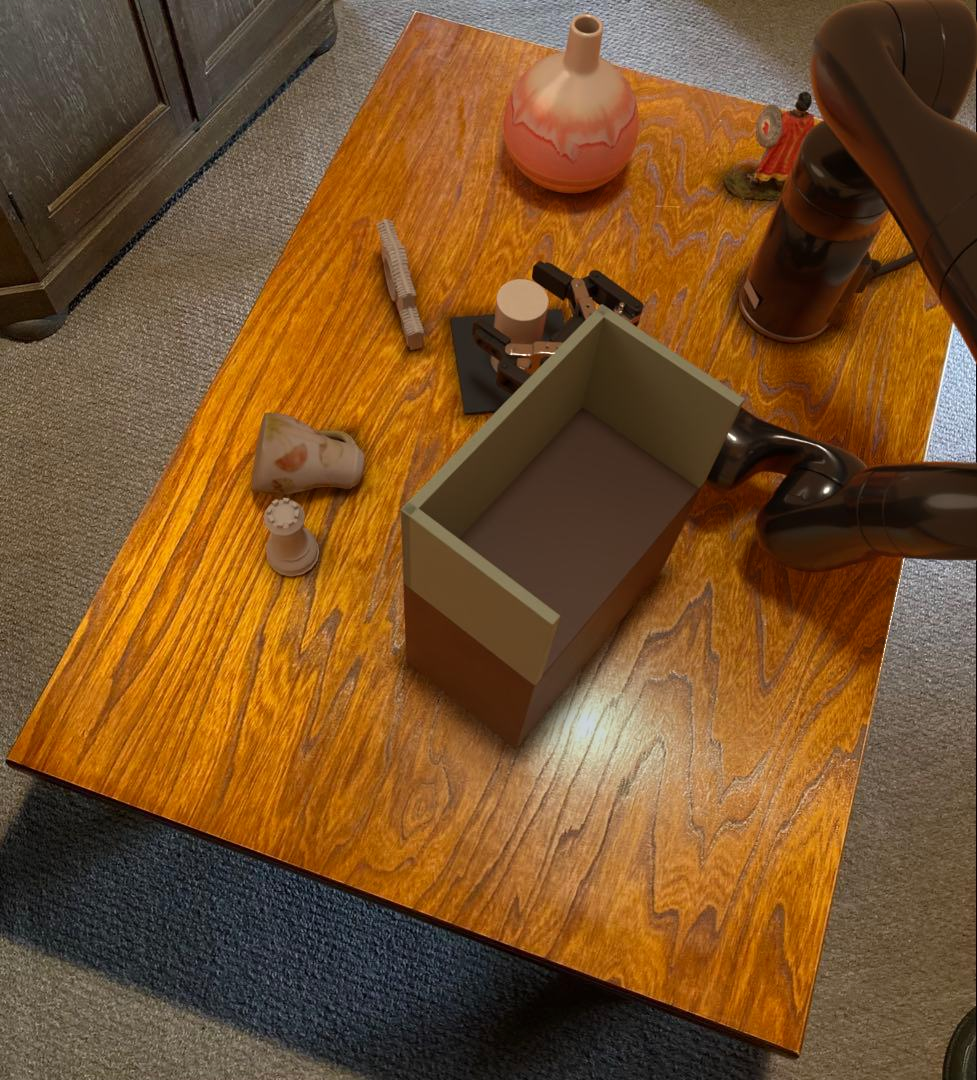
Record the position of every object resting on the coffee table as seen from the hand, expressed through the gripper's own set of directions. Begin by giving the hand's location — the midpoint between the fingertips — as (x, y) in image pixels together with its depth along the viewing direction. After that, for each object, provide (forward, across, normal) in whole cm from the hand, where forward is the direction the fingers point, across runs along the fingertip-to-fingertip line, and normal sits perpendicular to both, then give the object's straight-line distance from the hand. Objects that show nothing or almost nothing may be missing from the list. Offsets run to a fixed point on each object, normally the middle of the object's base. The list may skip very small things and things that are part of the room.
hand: (505, 297), depth 96 cm
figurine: (-8, -36, +8) cm, 37 cm away
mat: (-2, 0, +8) cm, 8 cm away
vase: (+10, -23, +8) cm, 26 cm away
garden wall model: (+11, +2, +8) cm, 14 cm away
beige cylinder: (-2, 0, +8) cm, 8 cm away
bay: (-20, +19, +8) cm, 28 cm away
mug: (+4, +22, +8) cm, 23 cm away
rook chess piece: (0, +28, +8) cm, 30 cm away
